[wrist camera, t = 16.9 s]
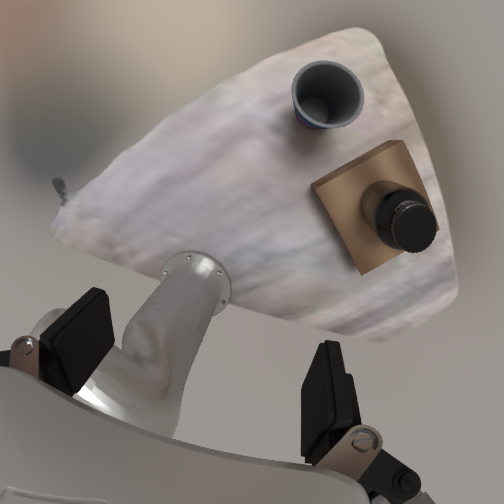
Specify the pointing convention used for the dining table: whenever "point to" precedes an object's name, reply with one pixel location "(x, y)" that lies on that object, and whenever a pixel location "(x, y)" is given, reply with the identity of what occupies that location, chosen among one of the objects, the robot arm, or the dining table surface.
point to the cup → (326, 95)
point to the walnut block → (350, 194)
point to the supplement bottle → (399, 216)
